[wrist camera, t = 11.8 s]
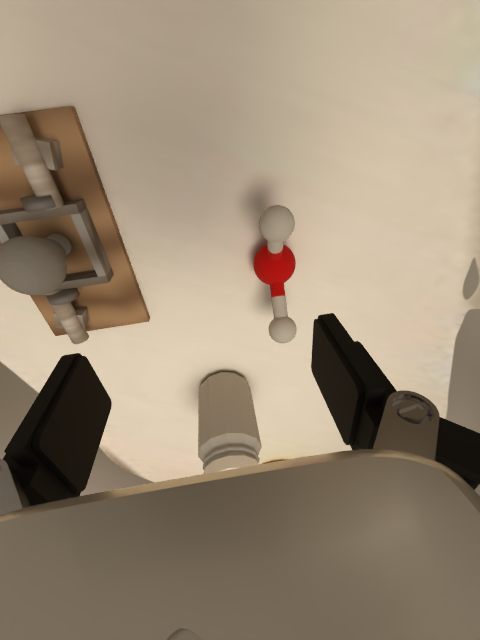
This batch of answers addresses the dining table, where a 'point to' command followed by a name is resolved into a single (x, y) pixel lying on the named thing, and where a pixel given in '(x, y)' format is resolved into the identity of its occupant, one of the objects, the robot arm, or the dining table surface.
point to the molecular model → (277, 267)
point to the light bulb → (34, 263)
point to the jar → (227, 424)
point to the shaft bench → (66, 221)
